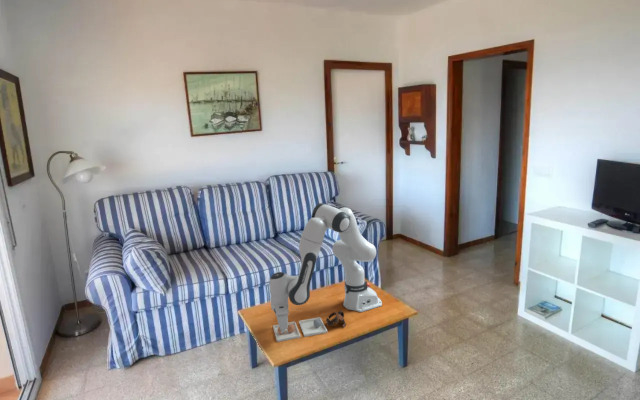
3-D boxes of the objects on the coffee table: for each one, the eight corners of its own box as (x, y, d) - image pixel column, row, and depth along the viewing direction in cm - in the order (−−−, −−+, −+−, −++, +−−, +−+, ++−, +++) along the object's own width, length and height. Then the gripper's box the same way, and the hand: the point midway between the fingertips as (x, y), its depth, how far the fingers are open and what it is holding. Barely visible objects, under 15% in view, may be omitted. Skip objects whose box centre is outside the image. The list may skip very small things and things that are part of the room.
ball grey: (320, 324, 206) (319, 317, 205) (322, 328, 202) (321, 321, 201) (312, 325, 205) (312, 318, 204) (314, 329, 201) (314, 322, 200)
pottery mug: (343, 333, 199) (335, 321, 197) (330, 335, 204) (321, 324, 203) (351, 316, 208) (343, 305, 207) (338, 319, 214) (330, 308, 212)
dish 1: (295, 324, 208) (295, 321, 207) (300, 338, 195) (300, 335, 194) (273, 328, 205) (272, 325, 205) (277, 343, 192) (276, 339, 191)
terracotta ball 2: (294, 328, 203) (293, 321, 202) (295, 332, 199) (295, 325, 198) (286, 330, 202) (286, 323, 201) (288, 334, 198) (287, 327, 197)
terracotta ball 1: (284, 330, 201) (284, 323, 200) (286, 334, 198) (285, 327, 197) (277, 331, 200) (276, 325, 199) (278, 336, 197) (277, 329, 196)
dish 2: (320, 320, 211) (320, 317, 211) (327, 333, 198) (327, 330, 198) (298, 323, 208) (298, 320, 208) (304, 337, 195) (304, 334, 195)
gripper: (270, 295, 204) (272, 319, 208) (276, 314, 185) (278, 340, 188) (282, 294, 206) (284, 317, 209) (289, 312, 187) (291, 337, 190)
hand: (281, 328), depth 198 cm, fingers open, 6 cm apart
